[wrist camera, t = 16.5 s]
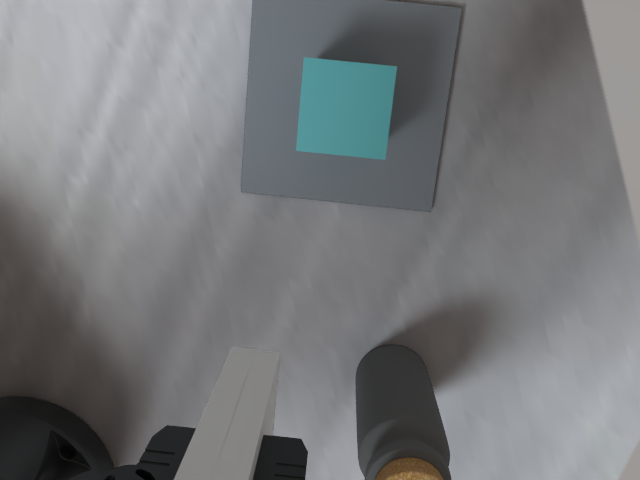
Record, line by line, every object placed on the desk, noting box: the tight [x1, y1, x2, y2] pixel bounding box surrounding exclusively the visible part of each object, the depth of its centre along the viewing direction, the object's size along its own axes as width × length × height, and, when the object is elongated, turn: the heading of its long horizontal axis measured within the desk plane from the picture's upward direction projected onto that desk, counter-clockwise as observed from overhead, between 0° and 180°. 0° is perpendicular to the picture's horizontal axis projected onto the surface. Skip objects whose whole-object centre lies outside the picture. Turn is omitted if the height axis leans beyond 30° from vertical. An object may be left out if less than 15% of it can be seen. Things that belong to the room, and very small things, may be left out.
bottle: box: [356, 345, 451, 480], centre depth 39 cm, size 6×6×15 cm
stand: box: [241, 0, 462, 212], centre depth 38 cm, size 14×14×7 cm
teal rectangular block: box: [296, 57, 397, 160], centre depth 37 cm, size 5×5×8 cm
